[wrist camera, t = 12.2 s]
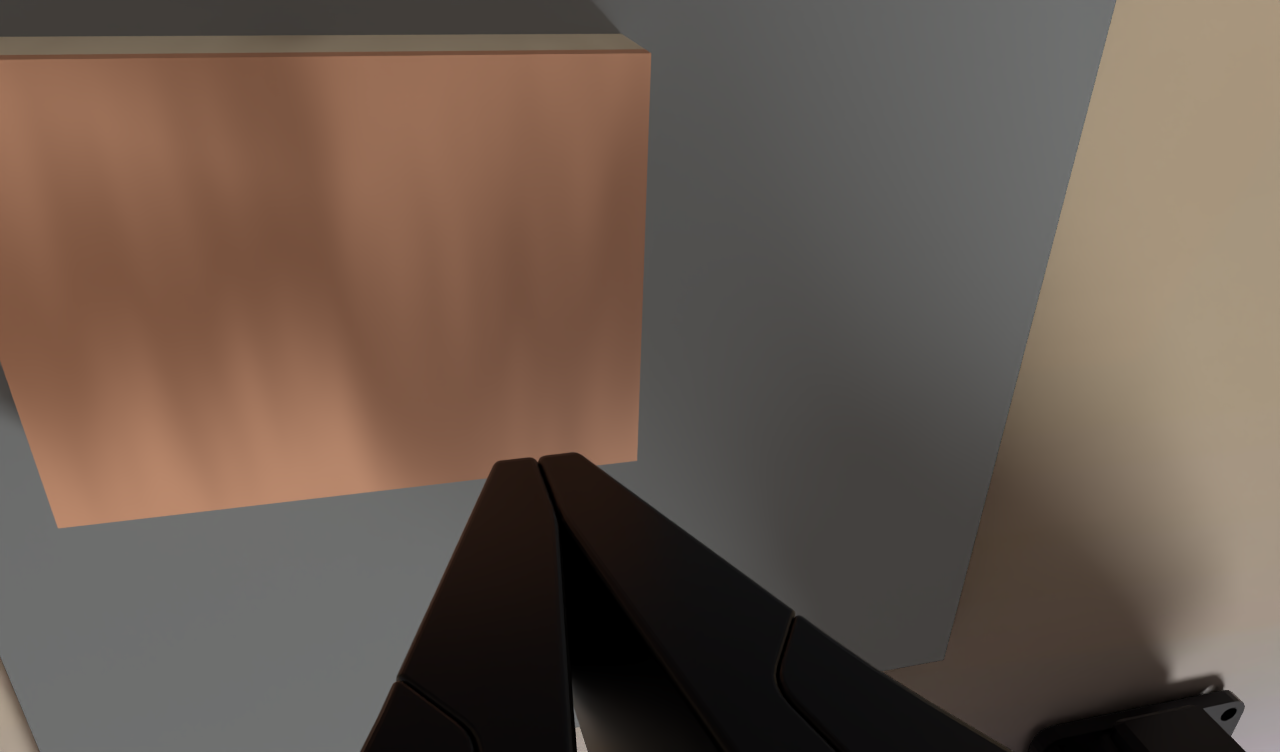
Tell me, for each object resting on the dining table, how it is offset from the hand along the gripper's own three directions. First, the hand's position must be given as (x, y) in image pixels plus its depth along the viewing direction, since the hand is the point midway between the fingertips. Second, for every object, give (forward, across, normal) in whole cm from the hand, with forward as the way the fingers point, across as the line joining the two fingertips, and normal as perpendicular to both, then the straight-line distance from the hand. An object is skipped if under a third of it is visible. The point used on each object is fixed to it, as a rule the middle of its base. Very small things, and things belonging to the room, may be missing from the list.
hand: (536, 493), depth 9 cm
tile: (+5, -2, -1) cm, 5 cm away
